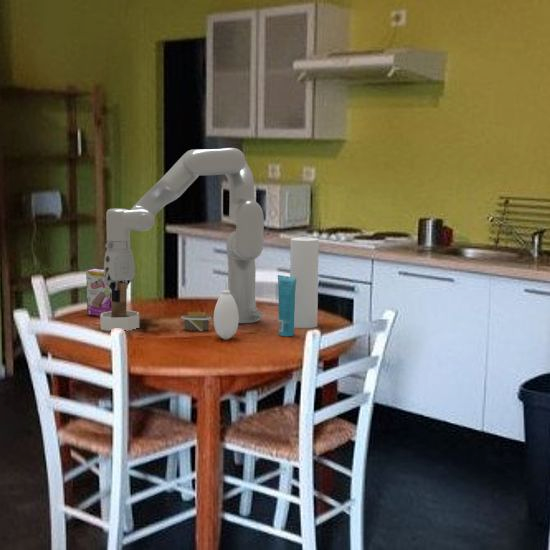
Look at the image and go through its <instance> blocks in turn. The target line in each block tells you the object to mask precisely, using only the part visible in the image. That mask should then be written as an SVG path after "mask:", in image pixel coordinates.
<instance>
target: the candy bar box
mask: <svg viewBox="0 0 550 550" xmlns="http://www.w3.org/2000/svg"><path fill="white" fill-rule="evenodd" d="M85 273H86V275H85V276H86V279H85V280H86V307H87V309H86V310H87V316H91V317H92V316H93V317H99V318H100V315H101V313H104V312H109V311H111V297H112V290H111V289H110V287H109V286H108V285H106V284H104V279H105V278H104V269H100V268H99V269H98V268H93V269H88V270H86V271H85Z"/></svg>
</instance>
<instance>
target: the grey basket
mask: <svg viewBox="0 0 550 550" xmlns="http://www.w3.org/2000/svg"><path fill="white" fill-rule="evenodd" d="M180 318H181V319H183V320H184V326H183V327H184V329H190V330H189V331H200V332H204V331H203V330H208V331H209V320H211V319H212V316H210V315H206V312H205V311H195V312H194V311H188V312H187V315H181V317H180ZM191 329H192V330H191Z"/></svg>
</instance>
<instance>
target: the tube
mask: <svg viewBox="0 0 550 550" xmlns="http://www.w3.org/2000/svg"><path fill="white" fill-rule="evenodd" d="M296 278H297V277H290V276H287V275H282V274H280V275H279V274H278V275H277V285H278V286H277V288H278V295H277V296H278V335H279V336H280V337H293V336H294V335H295V327H294V313H295V289H296Z"/></svg>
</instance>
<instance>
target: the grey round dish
mask: <svg viewBox="0 0 550 550" xmlns="http://www.w3.org/2000/svg"><path fill="white" fill-rule="evenodd" d="M99 319H100V320H99V321H100V330H101V331H107V332H111V331H110V330H111V329H112V328H122V329H125V330H126V331H125V332H130V331H133V330H132V329H135V330H137V329H136V328H139V329H140V312H139V311H134V310H127V309H126V317H112V316H111V311H109V312H104V313H101V315H100V317H99ZM129 330H130V331H129Z"/></svg>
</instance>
